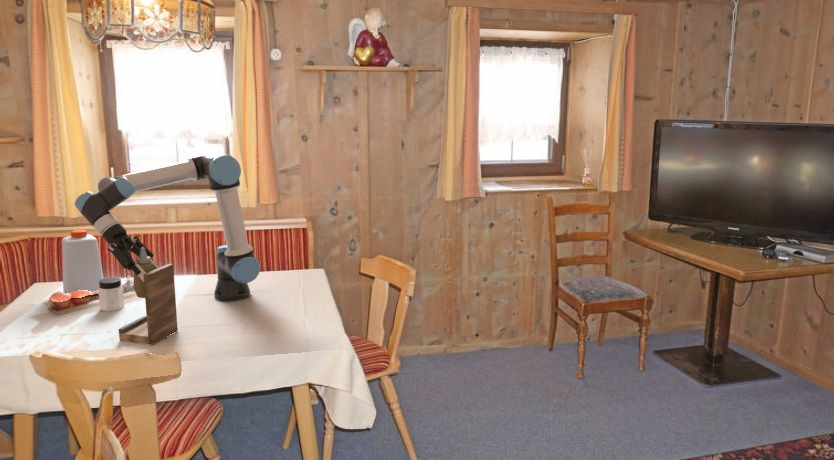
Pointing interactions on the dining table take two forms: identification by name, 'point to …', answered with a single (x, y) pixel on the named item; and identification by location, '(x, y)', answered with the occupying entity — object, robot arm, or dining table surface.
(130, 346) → the dining table surface
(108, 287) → the jar
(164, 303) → the wooden bookend
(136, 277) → the squeeze bottle
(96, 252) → the plastic bottle
